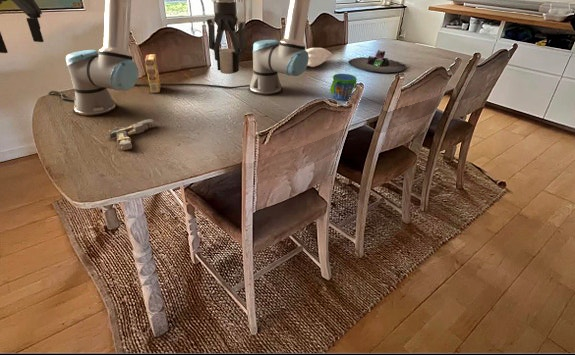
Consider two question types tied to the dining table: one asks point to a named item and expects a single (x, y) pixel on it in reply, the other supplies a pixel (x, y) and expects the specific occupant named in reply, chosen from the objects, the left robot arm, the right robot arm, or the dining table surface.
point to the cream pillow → (317, 56)
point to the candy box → (152, 73)
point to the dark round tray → (377, 63)
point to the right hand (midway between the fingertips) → (228, 70)
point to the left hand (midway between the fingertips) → (21, 46)
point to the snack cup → (343, 86)
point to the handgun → (129, 132)
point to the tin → (226, 60)
